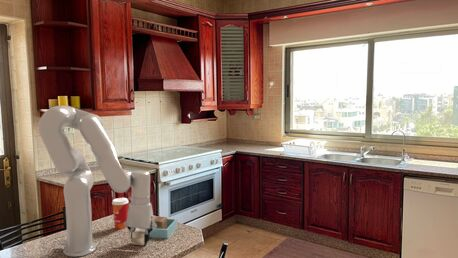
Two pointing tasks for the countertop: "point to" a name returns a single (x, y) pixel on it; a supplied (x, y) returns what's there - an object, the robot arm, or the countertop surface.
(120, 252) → the countertop surface
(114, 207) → the paper cup
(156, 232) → the tote
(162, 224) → the walnut block
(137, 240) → the birch block
